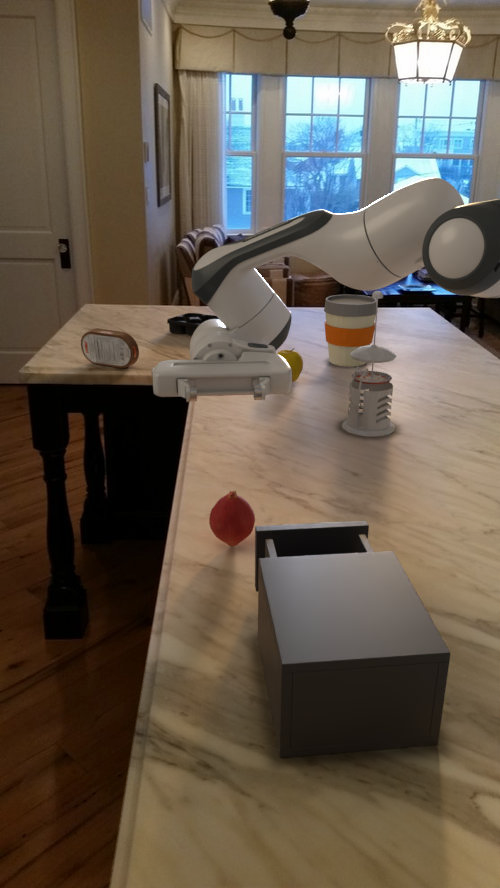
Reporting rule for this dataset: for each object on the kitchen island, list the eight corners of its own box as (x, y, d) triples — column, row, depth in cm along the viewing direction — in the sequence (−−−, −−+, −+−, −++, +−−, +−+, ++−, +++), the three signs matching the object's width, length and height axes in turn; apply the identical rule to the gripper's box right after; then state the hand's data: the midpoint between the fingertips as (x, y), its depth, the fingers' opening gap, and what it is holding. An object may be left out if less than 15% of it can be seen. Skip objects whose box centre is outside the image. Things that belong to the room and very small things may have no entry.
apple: (303, 386, 152) (304, 350, 149) (274, 386, 152) (274, 350, 149) (301, 377, 158) (302, 343, 155) (273, 377, 158) (273, 343, 155)
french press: (403, 424, 132) (416, 289, 122) (377, 444, 123) (388, 300, 113) (356, 413, 137) (364, 283, 127) (327, 432, 128) (334, 293, 118)
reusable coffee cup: (311, 360, 171) (313, 298, 165) (345, 351, 179) (348, 292, 173) (350, 371, 163) (354, 307, 157) (384, 362, 170) (389, 299, 164)
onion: (201, 543, 92) (199, 488, 88) (235, 529, 95) (235, 475, 92) (228, 562, 87) (228, 504, 84) (263, 546, 91) (264, 491, 88)
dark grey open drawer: (253, 580, 82) (253, 520, 79) (359, 574, 83) (363, 515, 80) (271, 672, 68) (273, 603, 65) (399, 663, 69) (406, 595, 66)
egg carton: (182, 323, 207) (181, 311, 206) (280, 331, 199) (280, 318, 198) (157, 337, 192) (156, 324, 190) (262, 346, 184) (263, 332, 182)
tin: (140, 367, 165) (138, 332, 162) (133, 371, 163) (131, 335, 160) (88, 360, 171) (85, 326, 168) (80, 363, 169) (77, 328, 165)
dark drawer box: (257, 638, 74) (258, 558, 70) (386, 630, 75) (393, 550, 71) (279, 758, 59) (281, 664, 55) (438, 744, 61) (450, 652, 57)
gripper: (150, 347, 107) (148, 375, 94) (284, 345, 109) (299, 372, 96) (152, 386, 109) (150, 419, 97) (282, 383, 111) (297, 415, 99)
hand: (226, 395), depth 97 cm, fingers open, 8 cm apart
